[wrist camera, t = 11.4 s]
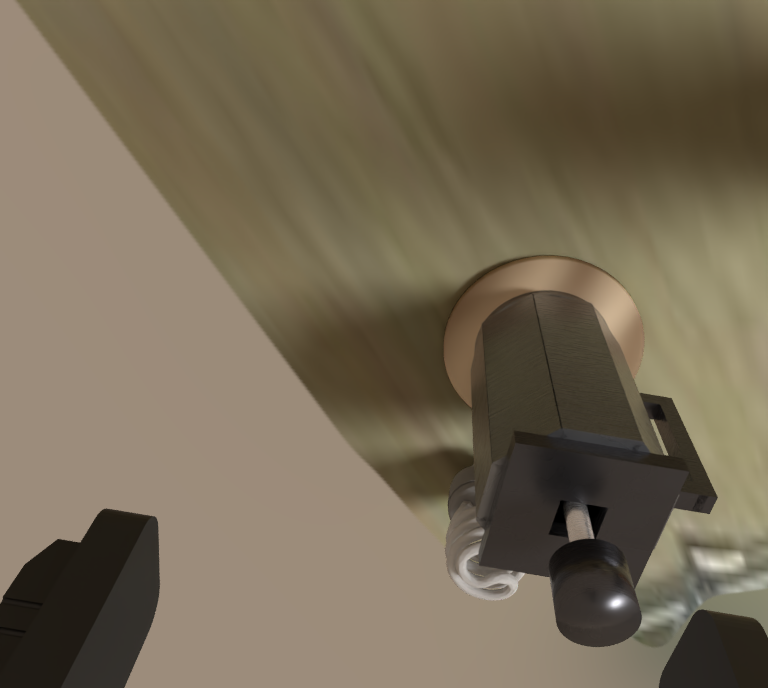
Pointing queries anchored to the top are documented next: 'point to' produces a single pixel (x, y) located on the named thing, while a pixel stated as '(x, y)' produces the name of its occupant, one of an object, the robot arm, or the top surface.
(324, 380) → the top surface
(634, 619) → the plunger
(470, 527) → the light bulb
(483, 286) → the disc
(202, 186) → the top surface
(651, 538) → the carafe
